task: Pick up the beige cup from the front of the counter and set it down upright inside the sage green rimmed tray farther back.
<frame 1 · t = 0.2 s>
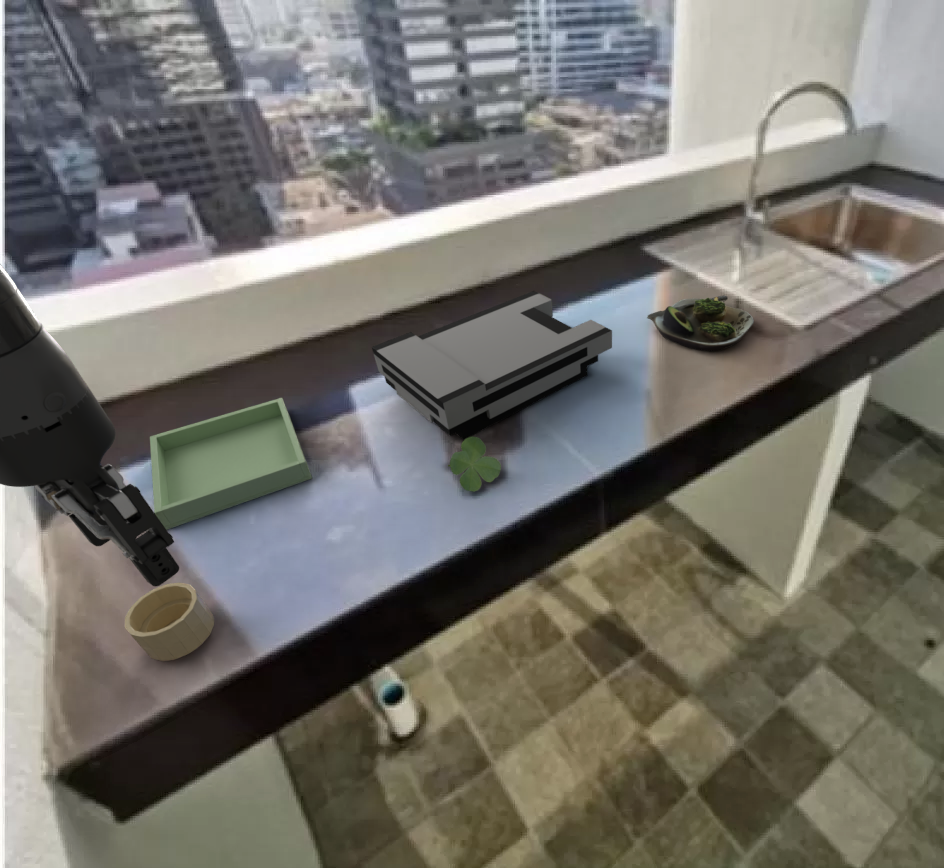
hand: (136, 557, 51), 16 cm above the worktop, tool pointing down, fingers open, 8 cm apart
game console: (500, 379, 102), on the worktop
salad plate: (700, 329, 114), on the worktop
tray: (234, 465, 85), on the worktop
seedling: (475, 475, 83), on the worktop
beige cup: (183, 636, 64), on the worktop
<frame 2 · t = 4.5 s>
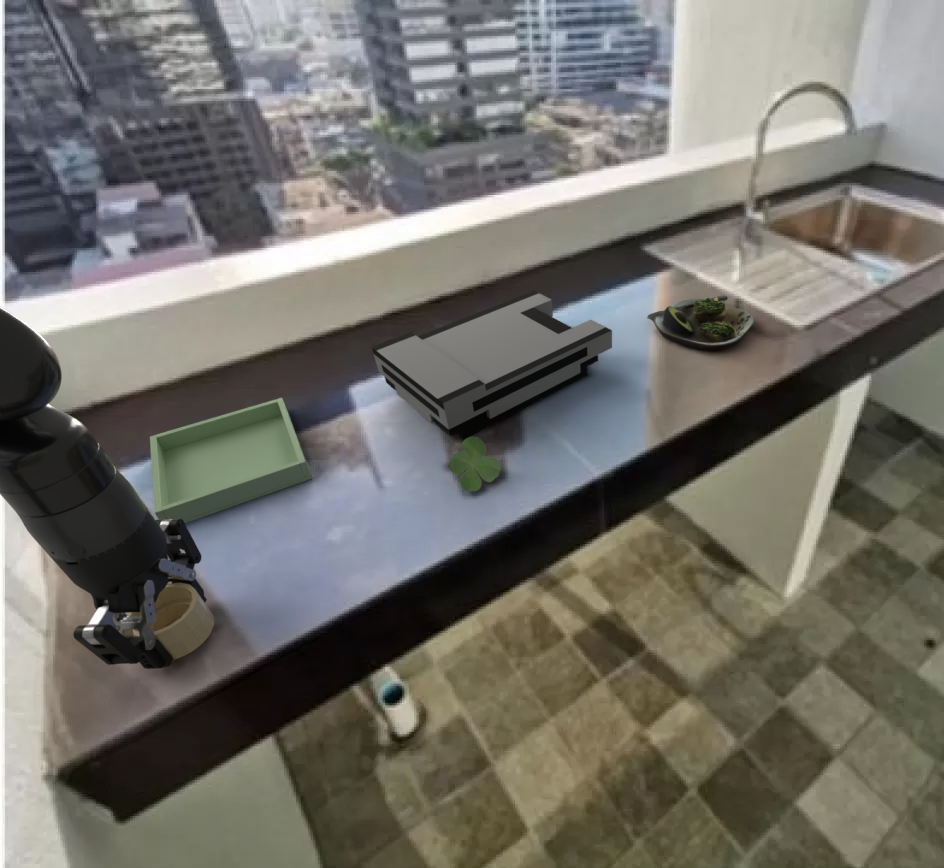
hand: (179, 632, 63), 1 cm above the worktop, tool pointing down, fingers closed on beige cup, 6 cm apart
beige cup: (183, 636, 64), on the worktop, touching gripper
everything else where it was.
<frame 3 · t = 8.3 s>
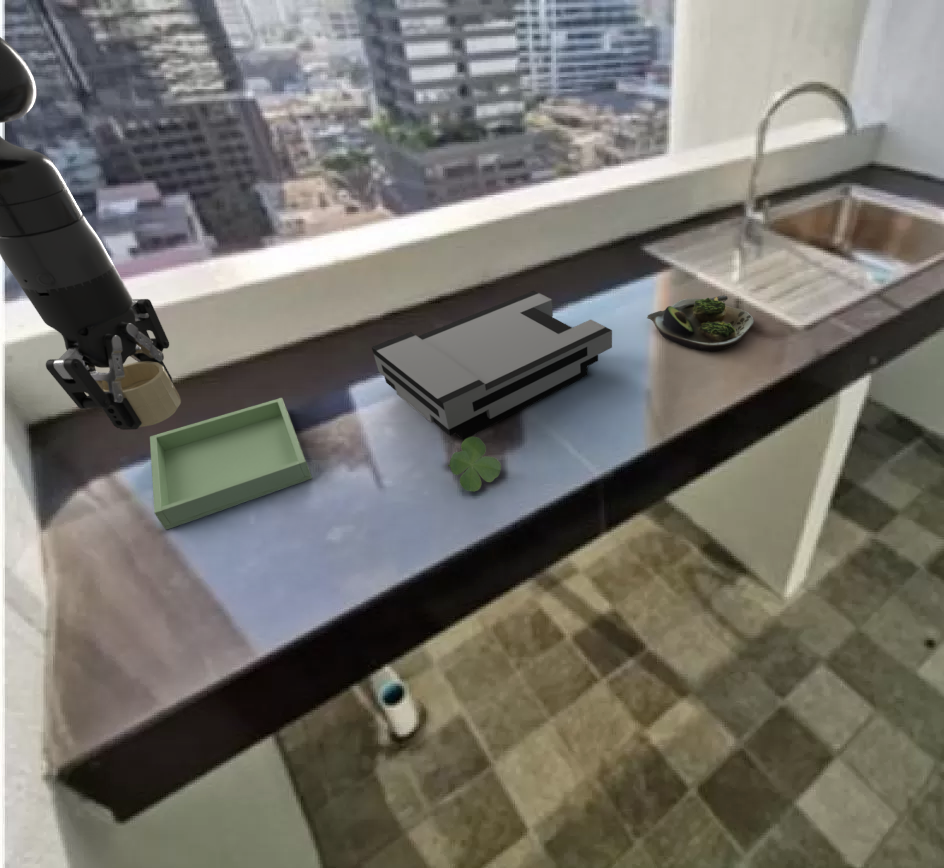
hand: (148, 407, 69), 16 cm above the worktop, tool pointing down, fingers closed on beige cup, 6 cm apart
beige cup: (152, 413, 69), point 15 cm above the worktop, touching gripper
everything else where it was.
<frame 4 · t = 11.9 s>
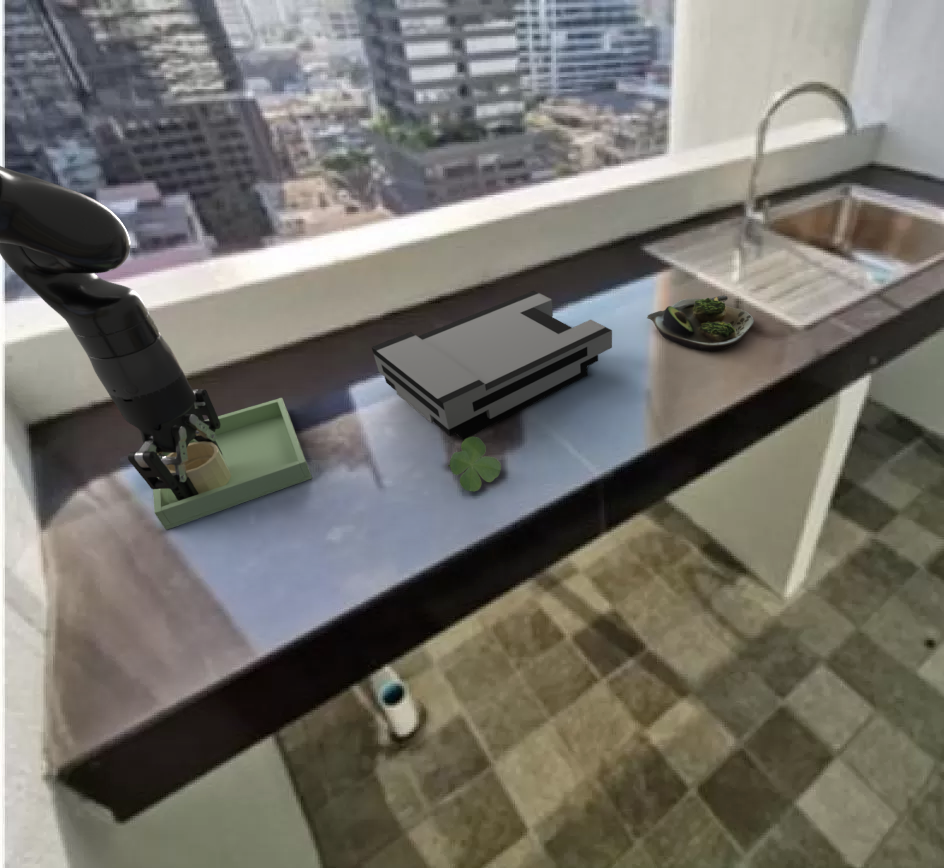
hand: (204, 481, 80), 2 cm above the worktop, tool pointing down, fingers closed on beige cup, 6 cm apart
beige cup: (206, 485, 81), point 1 cm above the worktop, touching gripper
everything else where it was.
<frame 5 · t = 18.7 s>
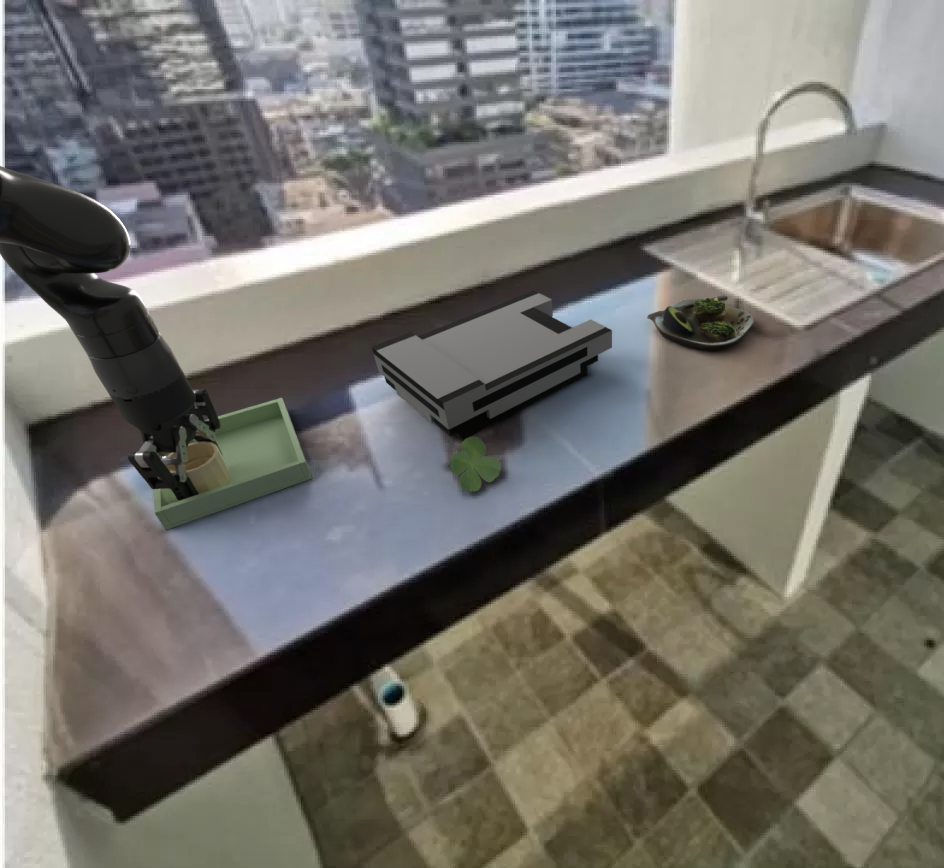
hand: (204, 481, 80), 1 cm above the worktop, tool pointing down, fingers closed on beige cup, 6 cm apart
beige cup: (206, 485, 81), point 1 cm above the worktop, touching gripper
everything else where it was.
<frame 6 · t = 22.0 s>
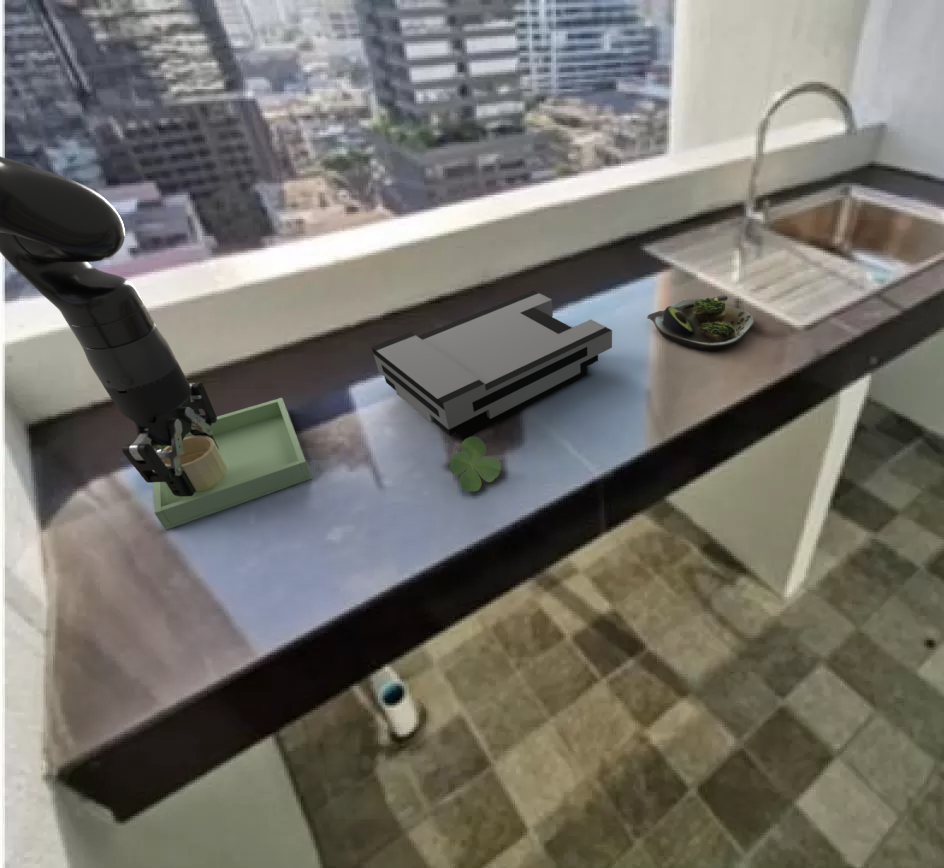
hand: (200, 475, 79), 3 cm above the worktop, tool pointing down, fingers closed on beige cup, 6 cm apart
beige cup: (202, 479, 80), point 2 cm above the worktop, touching gripper
everything else where it was.
when the fingers open (3 cm above the worktop, at t = 24.8 s): beige cup drops 2 cm, resting on tray.
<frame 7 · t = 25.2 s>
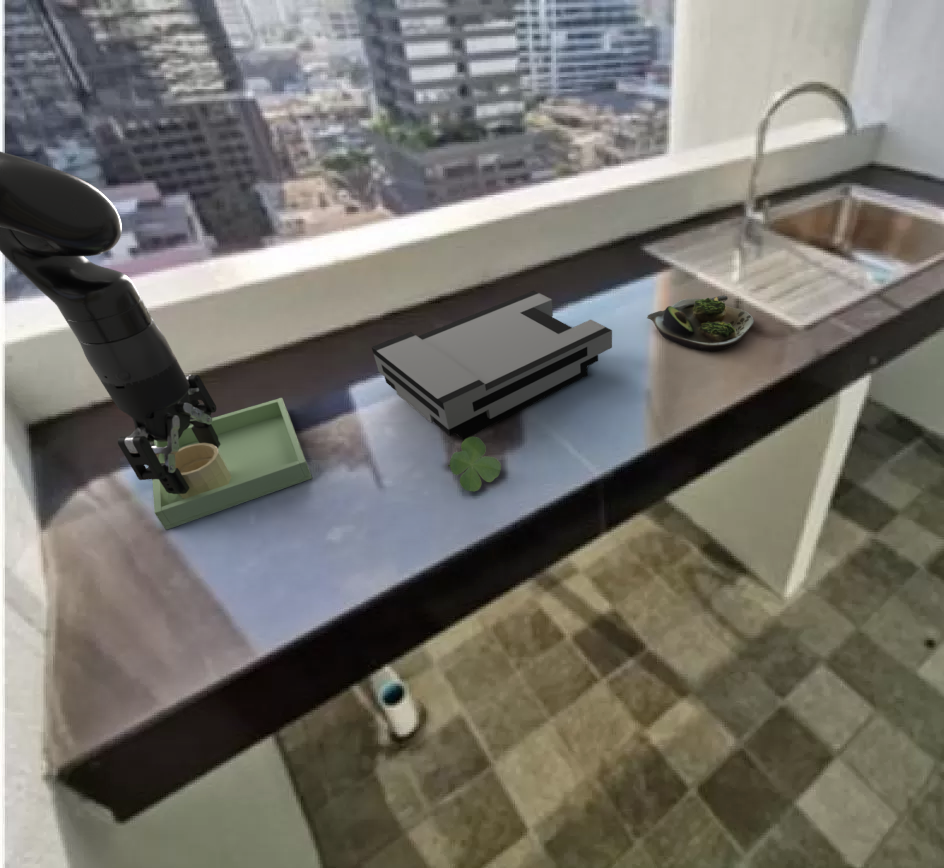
hand: (197, 469, 79), 4 cm above the worktop, tool pointing down, fingers open, 8 cm apart
beige cup: (207, 486, 81), point 1 cm above the worktop, touching tray
everything else where it was.
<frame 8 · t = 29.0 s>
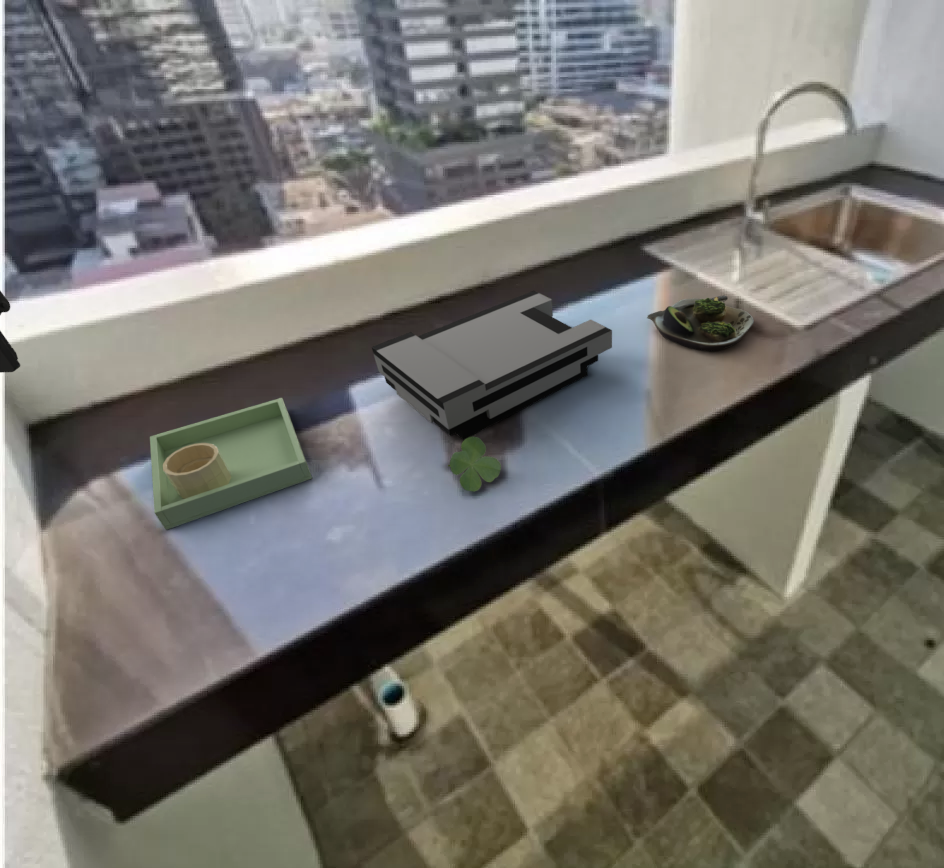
nothing on the worktop moved.
at the end: beige cup inside the target area in the tray (5.0 cm from its centre), point 0.6 cm above the tray's base; beige cup tilted 0°; the gripper is holding nothing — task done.
